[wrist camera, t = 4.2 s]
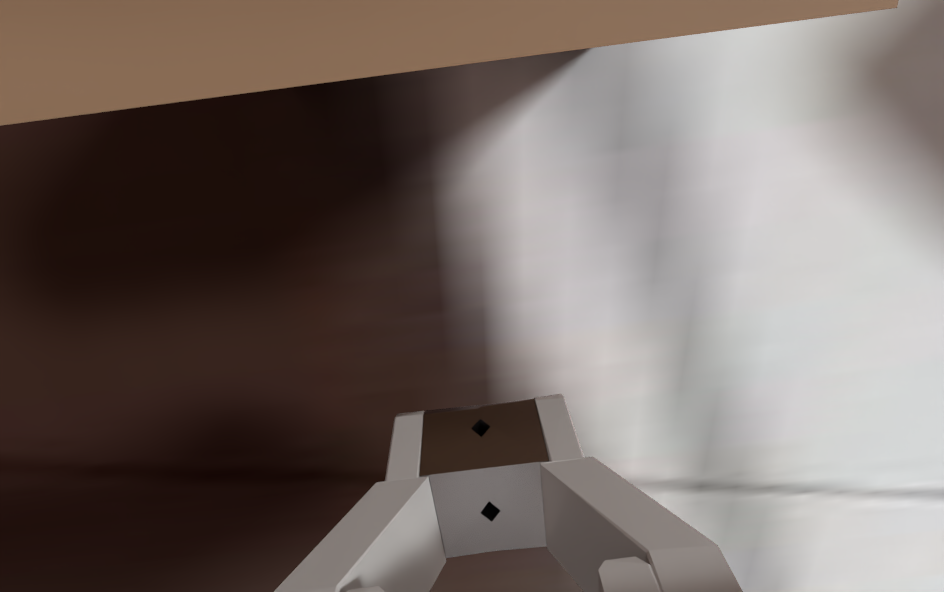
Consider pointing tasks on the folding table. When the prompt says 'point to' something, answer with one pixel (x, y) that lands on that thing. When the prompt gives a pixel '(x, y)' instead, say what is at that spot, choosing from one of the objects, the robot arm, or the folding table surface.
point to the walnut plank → (316, 41)
